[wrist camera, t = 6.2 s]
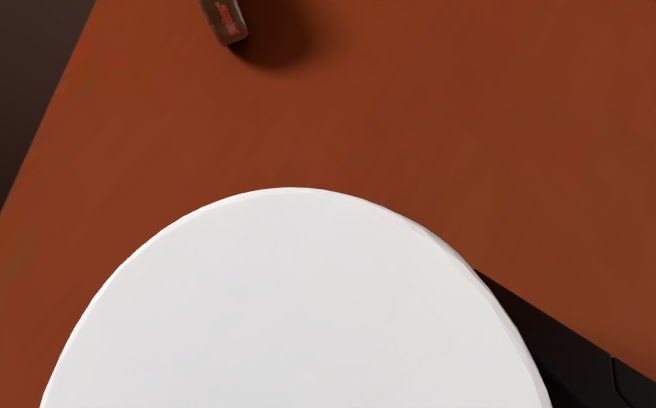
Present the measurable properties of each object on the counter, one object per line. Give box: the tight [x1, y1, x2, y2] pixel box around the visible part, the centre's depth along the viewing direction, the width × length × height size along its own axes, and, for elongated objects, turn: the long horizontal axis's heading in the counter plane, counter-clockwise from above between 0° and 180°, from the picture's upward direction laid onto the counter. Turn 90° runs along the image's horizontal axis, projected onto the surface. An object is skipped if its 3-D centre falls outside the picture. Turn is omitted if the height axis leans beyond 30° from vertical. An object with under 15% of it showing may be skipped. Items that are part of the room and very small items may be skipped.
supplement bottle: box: [40, 188, 553, 408], centre depth 9 cm, size 7×7×13 cm
